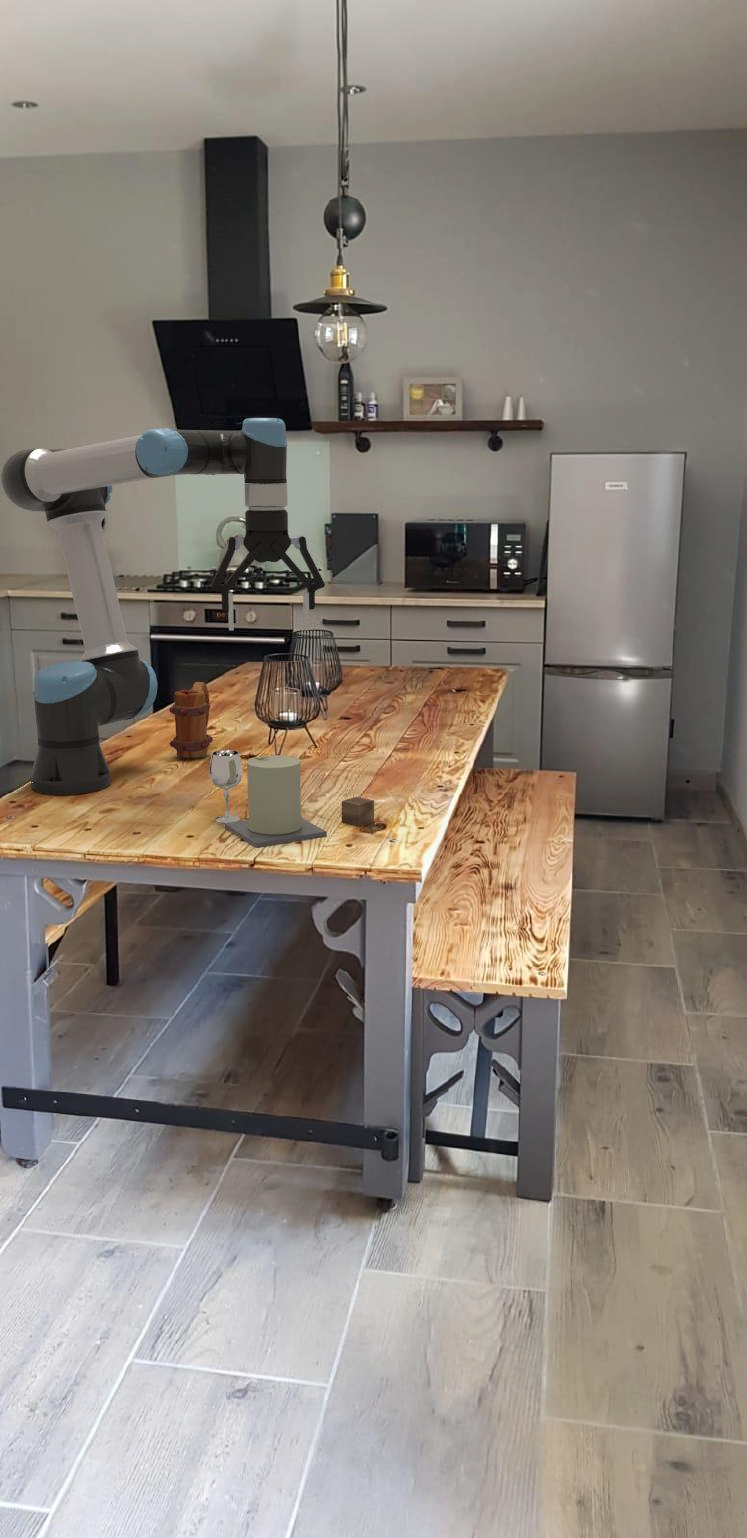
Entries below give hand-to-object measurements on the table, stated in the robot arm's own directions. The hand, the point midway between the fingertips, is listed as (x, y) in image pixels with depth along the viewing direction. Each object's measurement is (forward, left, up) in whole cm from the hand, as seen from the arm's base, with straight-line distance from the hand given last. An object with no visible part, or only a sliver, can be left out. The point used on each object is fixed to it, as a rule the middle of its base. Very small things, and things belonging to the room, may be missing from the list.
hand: (269, 628), depth 221 cm
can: (-9, -20, -31) cm, 38 cm away
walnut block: (+6, -22, -32) cm, 39 cm away
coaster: (-9, -20, -32) cm, 39 cm away
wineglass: (-13, -9, -32) cm, 36 cm away
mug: (+1, +41, -32) cm, 52 cm away
